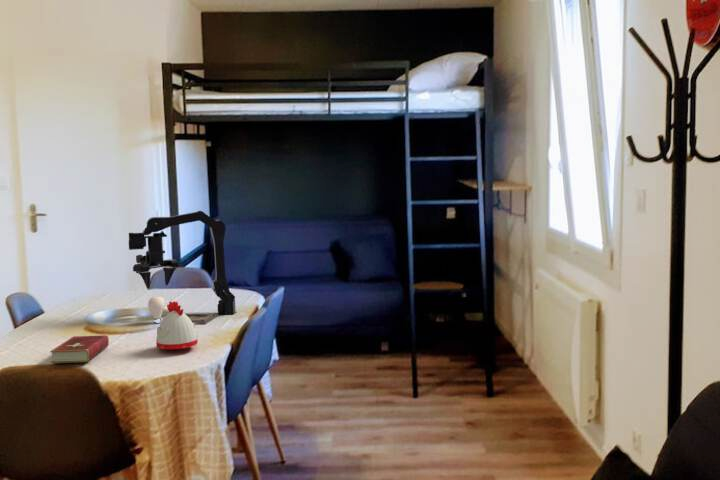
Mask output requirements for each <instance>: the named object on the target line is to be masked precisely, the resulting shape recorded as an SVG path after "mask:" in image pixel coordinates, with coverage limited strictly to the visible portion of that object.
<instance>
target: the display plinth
mask: <svg viewBox="0 0 720 480" xmlns="http://www.w3.org/2000/svg"><path fill="white" fill-rule="evenodd" d="M185 314H186V315H187V316H188V317H189V319H190V320H191V321H192V323H195V325H207V324H208V323H210V322H211V321H214V319H216V318H218V314H217V315H216V314H215V313H185Z"/></svg>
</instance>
